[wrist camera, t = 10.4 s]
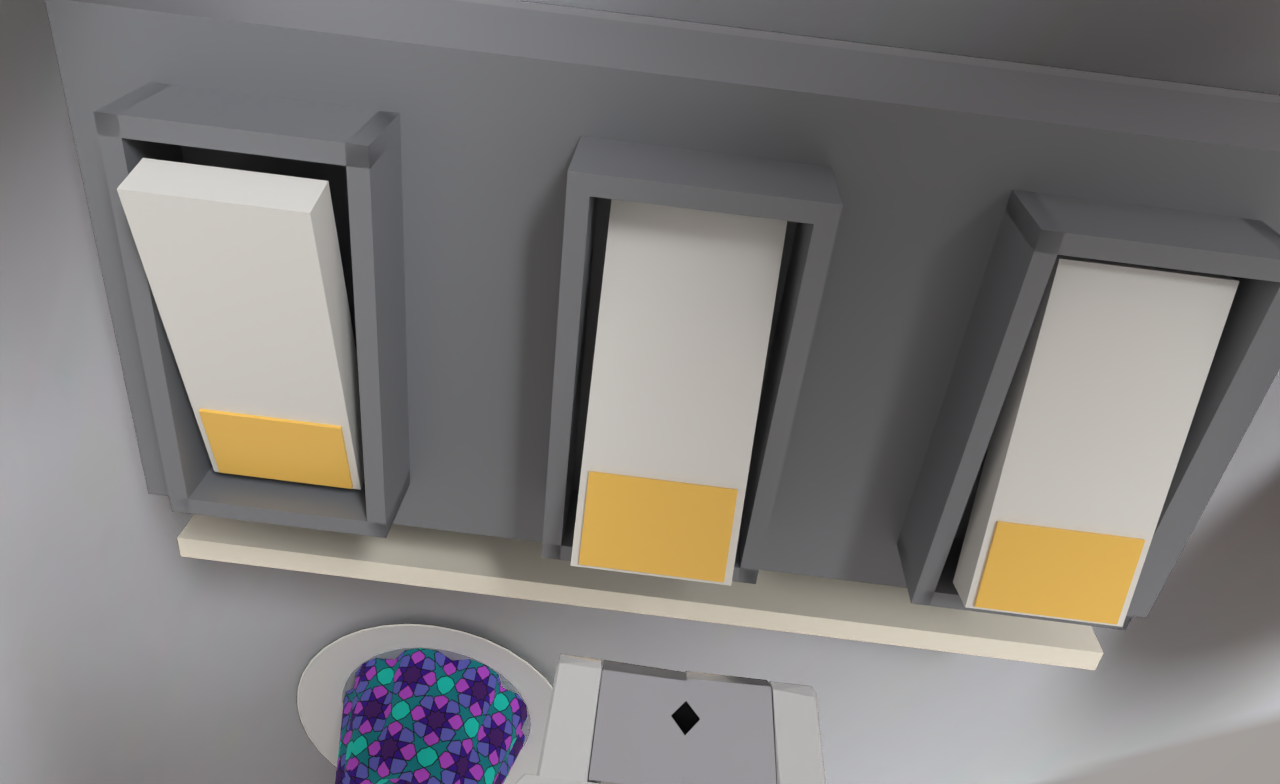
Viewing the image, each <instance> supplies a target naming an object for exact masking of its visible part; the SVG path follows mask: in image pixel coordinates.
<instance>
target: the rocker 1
mask: <svg viewBox="0 0 1280 784" xmlns="http://www.w3.org/2000/svg"><path fill="white" fill-rule="evenodd" d="M117 191H118V194H119V197H120V200H121V203H122V206H123V209H124V212H125V215H126V217H127V220H128V223H129V226H130V229H131V232H132V235H133V238H134V241H135V243H136V246H137V249H138V252H139V255H140V258H141V261H142V264H143V267H144V270H145V272H146V275H147V278H148V281H149V284H150V287H151V290H152V293H153V296H154V298H155V301H156V304H157V307H158V310H159V313H160V316H161V319H162V322H163V325H164V327H165V330H166V333H167V336H168V339H169V342H170V345H171V348H172V351H173V353H174V356H175V359H176V362H177V365H178V368H179V371H180V374H181V377H182V379H183V382H184V385H185V388H186V391H187V394H188V397H189V400H190V403H191V406H192V408H193V411H194V414H195V417H196V420H197V423H198V426H199V429H200V432H201V434H202V437H203V440H204V443H205V446H206V449H207V452H208V455H209V458H210V460H211V463H212V466H213V469H214V471H215V472H220V473H228V474H236V475H244V476H252V477H260V478H268V479H276V480H284V481H292V482H300V483H308V484H316V485H324V486H332V487H340V488H348V489H359V490H361V488H362V485H363V483H364V480H365V479H364V462H363V445H362V428H361V411H360V393H359V376H358V359H357V353H356V347H355V341H354V335H353V329H352V323H351V316H350V310H349V304H348V298H347V292H346V286H345V280H344V273H343V267H342V261H341V255H340V249H339V243H338V237H337V230H336V224H335V218H334V212H333V206H332V200H331V194H330V188H329V181H325V180H317V179H309V178H301V177H293V176H285V175H277V174H269V173H261V172H253V171H245V170H237V169H229V168H220V167H212V166H204V165H196V164H188V163H180V162H172V161H164V160H156V159H148V158H142V160H141V161H140V162H139V163H138V164H137V165H136V167H135V168H134V169H133V170H132V171H131V172H130V174H129V175H128V176H127V177H126V178H125V180H124V181H123V182H122V183H121V184H120V185H119V187H118V188H117Z"/></svg>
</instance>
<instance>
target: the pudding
mask: <svg viewBox="0 0 1280 784" xmlns="http://www.w3.org/2000/svg"><path fill="white" fill-rule="evenodd" d="M404 648H418V649H411V650H405V651H404V652H403V653H402V654H401V655H400V656H399V657H397V658H396V659H395V660H390V659H380V658H375V659H373V660H371V661H368V662H366V663H364V662H365V661H367V660H369V659H371V658H372V657H374V656H377V655H380V654H382V653H385V652H388V651H393V650H398V649H404ZM423 648H431V649H440V650H445V651H450V652H455V653H458V654H461V655H464V656H467V657H470V658H473V659H475V660H477V661H479V662H481V663H479V662H476V661H473V660H471V659H468V660H456V661H452V660H450V659H449V658H447V657H446V656H444V655H443V654H442V653H440V652H439V651H435V650H429V649H423ZM362 663H364V664H363V665H362V666H361V667H360V668H359V670H358V671H357V672H356V677H355V685H354V688H353V689H351V690H349V691H347V692H346V694H345V698H344V702H343V704H342V697H343V689H344V687H345V684H346V681H347V680H348V678H349V677H350V675H351V674H352V672H353V671H354V670H355V669H356V668H358V667H359V666H360V665H361V664H362ZM482 663H483V664H482ZM484 664H486V665H484ZM488 666H489V667H491V668H492V669H494V670H495V671H497V672H498V673H500V674H501V675H502V676H503V677H505V678H506V679H507V680H508V681H509V682H510V683H512V685H513V686H514V687H515V688H516V689H517V691H518V692H519V693H520V694H521V696H522V698H523V699H524V701H525V703H526V705H527V708H528V711H529V714H530V725H531V728H530V733H529V737H528V740H527V742H526V743H525V745H524V747H523V749H522V746H523V743H524V740H525V736H524V734H523V733H522V731H521V728H522V726H523V724H524V722H525V720H526V718H527V710H526V705H525V703H524V702H523V701H522V699H521V698H520V697H519V695H518V694H515V693H513V692H511V691H508V690H506V689H504V688H502V687H501V683H500V679H499V676H498V674H497V673H495V672H494V671H493V670H492V669H490V668H489V667H488ZM552 688H553V687H552V686H551V684H550V683H549V682H548V681H547V679H546V678H545V677H544V676H543V675H542V674H540V673H539V672H538V671H537V670H536V669H535V668H534V667H533V666H531V665H530V664H529V663H528V662H526V661H525V660H523V659H522V658H520V657H519V656H517V655H516V654H514V653H513V652H511V651H509V650H508V649H506V648H504V647H501V646H499V645H497V644H495V643H493V642H491V641H489V640H487V639H484V638H481V637H478V636H475V635H472V634H469V633H466V632H463V631H459V630H454V629H449V628H444V627H439V626H433V625H419V624H396V625H383V626H378V627H373V628H368V629H363V630H360V631H357V632H354V633H352V634H349V635H346V636H343V637H341V638H339V639H338V640H336V641H334V642H333V643H331V644H329V645H328V646H326V647H324V648H323V649H322V650H321V651H320V652H319V653H318V654H317V655H316V656H315V657H314V658H313V659H312V660H311V661H310V663H309V664H308V666H307V667H306V669H305V670H304V672H303V673H302V676H301V679H300V683H299V686H298V690H297V707H298V711H299V716H300V720H301V722H302V725H303V727H304V729H305V731H306V733H307V735H308V737H309V738H310V740H311V741H312V742H313V744H314V745H315V746H316V748H317V749H318V750H319V752H320V753H321V754H322V755H323V756H324V757H325V758H326V759H327V760H328V761H329V762H331V763H332V764H333V765H334V766H335V767H336V768H337V771H336V781H335V784H514V783H515V782H516V781H517V780H518V779H519V778H520V777H521V776H522V775H523V774H531V775H537V770H538V765H539V759H540V754H541V748H542V743H543V737H544V732H545V726H546V721H547V715H548V710H549V704H550V699H551V694H552ZM521 749H522V750H521Z"/></svg>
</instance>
